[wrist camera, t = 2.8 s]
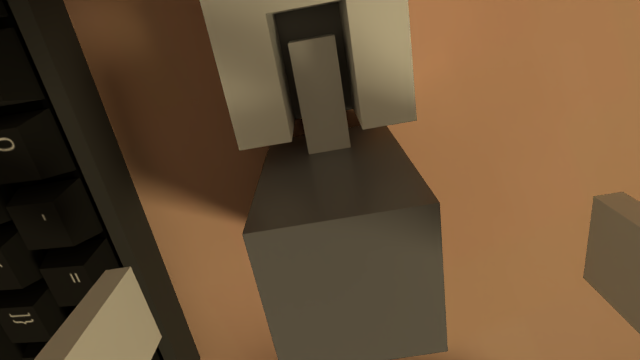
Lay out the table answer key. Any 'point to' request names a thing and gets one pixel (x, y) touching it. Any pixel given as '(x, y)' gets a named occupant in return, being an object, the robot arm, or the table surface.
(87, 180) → the computer keyboard
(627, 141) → the table surface
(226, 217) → the table surface
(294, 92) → the strip
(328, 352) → the charger
